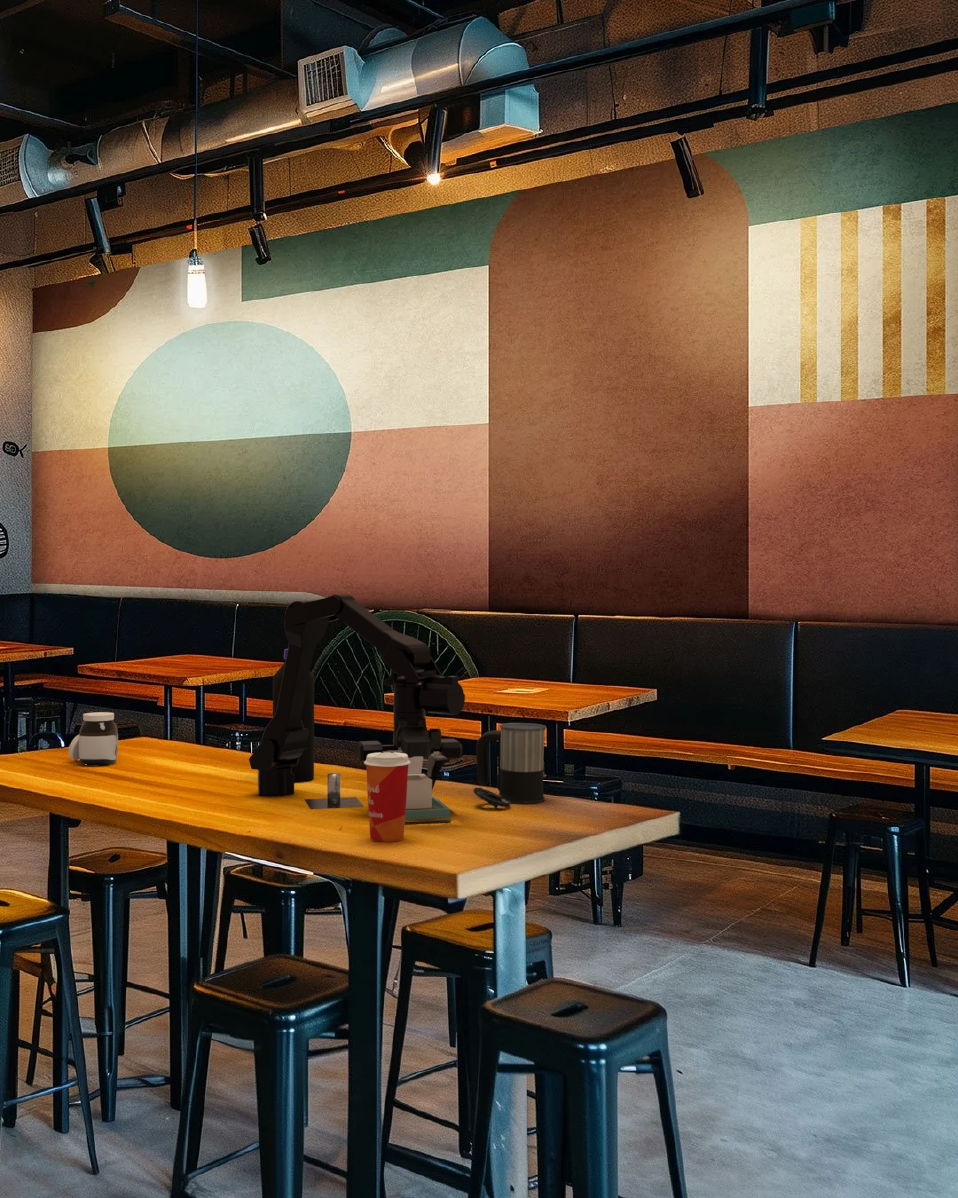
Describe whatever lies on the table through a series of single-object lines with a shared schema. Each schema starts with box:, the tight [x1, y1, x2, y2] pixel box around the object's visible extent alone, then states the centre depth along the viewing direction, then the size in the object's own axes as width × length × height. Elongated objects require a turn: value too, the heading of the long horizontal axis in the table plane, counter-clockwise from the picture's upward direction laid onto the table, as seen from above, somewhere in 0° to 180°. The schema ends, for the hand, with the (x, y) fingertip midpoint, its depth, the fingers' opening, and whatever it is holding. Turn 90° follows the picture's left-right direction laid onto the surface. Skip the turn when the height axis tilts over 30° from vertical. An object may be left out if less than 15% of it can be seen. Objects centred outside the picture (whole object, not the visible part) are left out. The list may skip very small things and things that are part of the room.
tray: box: [405, 796, 451, 826], centre depth 217 cm, size 12×12×2 cm
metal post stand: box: [304, 772, 365, 810], centre depth 225 cm, size 10×10×6 cm
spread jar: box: [68, 711, 119, 766], centre depth 278 cm, size 12×11×12 cm
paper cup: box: [363, 752, 410, 843], centre depth 199 cm, size 8×8×14 cm
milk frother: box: [473, 722, 547, 809], centre depth 231 cm, size 14×16×15 cm
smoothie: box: [408, 756, 424, 774], centre depth 241 cm, size 6×6×14 cm
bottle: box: [272, 648, 315, 784], centre depth 257 cm, size 9×9×28 cm
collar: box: [406, 773, 433, 810], centre depth 217 cm, size 7×7×5 cm
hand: (408, 797), depth 217 cm, fingers closed on collar, 7 cm apart
